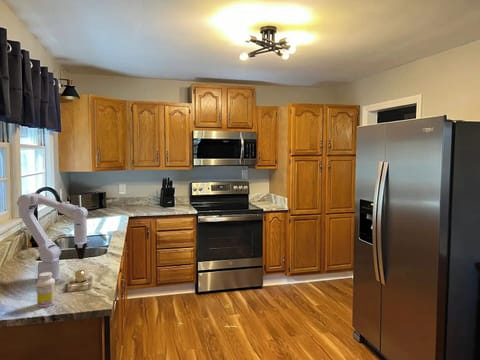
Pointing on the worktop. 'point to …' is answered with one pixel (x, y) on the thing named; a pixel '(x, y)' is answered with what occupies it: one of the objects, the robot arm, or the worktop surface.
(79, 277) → the brass round peg
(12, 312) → the worktop surface
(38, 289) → the supplement bottle
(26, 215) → the robot arm
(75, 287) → the jig
